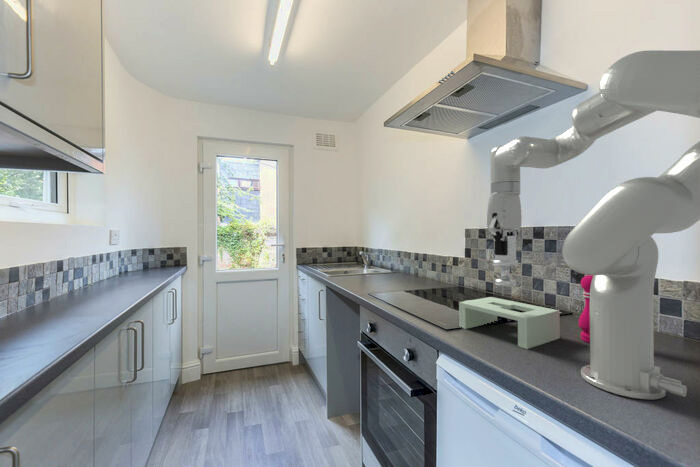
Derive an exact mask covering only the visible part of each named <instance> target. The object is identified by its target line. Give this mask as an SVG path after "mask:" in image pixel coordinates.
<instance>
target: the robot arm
mask: <svg viewBox="0 0 700 467" xmlns="http://www.w3.org/2000/svg"><path fill="white" fill-rule="evenodd" d="M598 90H599V91H598V92H597V93H596V94H594V95H592V96H591V97H589V98H587V99H586V100H584V101H581V102H579V103H578V104H577V105H576V106H575V107H574V109H573V110H572V114H571V119H572V121H571V122H572V127H570V128H568V129H566V131H564V132H562V133H560V134H558V135H556V136H554V137H552V138H549V139H548V138H542V137H540V138H539V137H534V136H533V137H531V136H519V137H517V138H514V139H511V140H510V141H509V142H507V143H505V144H501V145H498V146H495V147H493V148H492V149H491V150H490V151H491V152H490V195H489V197H488V204H487V213H486V227H487V229H488V232H489V233H491V235H492V238H493V241H495V255H506V254H507V241H504V240H505V236H516V241H518V235H519V234H520V232H521V231H522V206H521V205H522V203H521V197H520V195H521V168H535V169H543V170H544V169H550V168H553V167H556V166H559V165H561V164H563V163H566V162H568V161H570V160H572V159H575V158H576V157H580V155H582V154H584V152H585V151H587V150H588V149H589V148H590V147H591V146H592V145H593V144H594V143H595V142H596V141H597V140H598V139H600V138H602V137H604V136H606V135H608V134H610V133H612V132H614V131H616V130H618V129H620V128H623V127H625V126H627V125H629V124H631V123H633V122H636V121H638V120H640V119H642V118H645V117H646V116H649V115H650V114H653V113H654V112H665V113H669V114H670V113H671V114H676V115H677V114H678V115H683V116H689V117H694V118H697V119H700V50H697V49H696V50H655V49H654V50H653V49H652V50H650V49H649V50H641V51H635V52H632V53H629V54H627V55H624V56H623V57H621V58H619V59H617V61H615V62H613V64H611V65H610V67H608V68H607V69H606V70H605V72H604V73H603V75H602V78H601V79H600V83H599V86H598ZM699 221H700V140H699V141H697V143H695V144H694V145H692V146H691V147H690V148H689V149H687V150H686V151H685V152H684V153H683V154H682V155H681V156H680V157H679V158H678V159H677V160H676V161H674V163H673V164H671V165H670V167H669V168H667V170H665V171H663V172H662V173H661V174H660V175H659V176H657V177H655V176H654V177H653V176H643V177H642V176H641V177H635V178H632V179H628V180H626V181H624V182H622V183H619V184H617V185H616V186H614V187H613V188H612V189H611V190H610V191H609V190H608V192H607V193H606V194H604V196H602V198H600V200H599V201H598V202H597V203H596V204H595V205H594V206H593V207H592V208H591V209H590V210H589V211H588V212H587V214H585V215H584V217H583V218H582V219H581V220H580V221H579V222H578V223H577V224H576V225H575V226H574V227H573V228H572V229H571V230H570V231H569V233H568V234H567V235H566V238H565V239H564V241H563V244H562V251H561V252H562V257H563V258H562V259H563V260H564V262H565V264H566V265H567V266H568V267H569V268H570V269H572V270H573V271H575V272H576V273H580V274H582V275H585V276H587V275H593V278H592V282H591V287H590V343H589V364H587V365H584V366H582V367H581V369H580V375H581V378H583V379H584V380H585V381H586V382H587V383H589V384H591V385H592V386H594V387H596V388H599V389H601V390H604V391H606V392H609V393H612V394H615V395H618V396H619V395H620V396H623V397H627V398H632V399H639V400H650V401H651V400H660V399H663V398H664V397H666V395H667V393H666V392H669V393H670V394H673V395H676V396H680V397H683V398H686V397H687V393H688V388H687V387H688V386H686V385H684V384H682V381H681V380H678V379H675V378H672V377H671V378H670V377H666V376H664V374H662V373H661V367H660V366H656V365H654V364H655V360H654V359H655V358H654V355H655V352H654V350H655V349H654V347H655V346H654V289H655V288H654V287H655V279H656V275H657V274H656V273H657V270H658V263H659V249H658V245H657V243H656V241H655V239H654V238H653V237H652V236H653V235H654V234H672V233H679V232H682V231H685V230H687V229H689V228H690V227H692V226H694V225H695V224H697V223H698V222H699Z"/></svg>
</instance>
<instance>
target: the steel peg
mask: <svg viewBox="0 0 700 467" xmlns="http://www.w3.org/2000/svg"><path fill="white" fill-rule="evenodd" d="M493 241H494V240H493ZM504 241H507V254H506V255H495V241H494V242H493V243H494V244H493V245H494V253H493V254H494V258H493V259H492V266H494V267H497V268H498V267H500V278H495V280H494V285H495V286H498V287H508V288H510V287H511V288H512V287H516V286H517V280H516V279H512V278H510V277H511V275H510V270H511V268H517V267H519V260H517V240H516V236H505V240H504Z"/></svg>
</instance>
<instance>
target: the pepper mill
mask: <svg viewBox="0 0 700 467" xmlns="http://www.w3.org/2000/svg"><path fill="white" fill-rule="evenodd" d="M592 278H593V275H585V276H583V277H582V278H581V280H580V287H581V288H582V289H583V291H582V293H583V294H582V296H583V298H584V301H585V305H584V308H583V311H582V312H581V314H580V316H579V318H578V327H579V328H580V329H581V330H582V331H581V332H580V340H581V341H583V342H586V343H589V344H590V287H591V282H592Z"/></svg>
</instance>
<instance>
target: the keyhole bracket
mask: <svg viewBox="0 0 700 467" xmlns="http://www.w3.org/2000/svg"><path fill="white" fill-rule="evenodd" d="M469 300H470V301H467V300H464V301H459V302H458V319H459V320H458V323H459V324H458V325H459V326H460V327H459V326H458V327H459V328H461V327H462V328H461V329H464V330H467V329H472V328H476V327H480V326H484V324H485V325H488V324H487V323H489V324H491V322H493V323H495V322H494V321H497V322H498V317H501V318H504V319H508V320H513V321H515V322H516V321H517V346H518V347H519V348H523V349H525V350H528V349H532V348H534V347H538V346H541V345H544V344H546V343H547V344H548V343H549V342H553V341H557V340H559V339H561V334H560V332H561V330H560V321H561V320H560V319H561V318H560V309H554V308H548V307H543V306H540V305H539V306H538V305H533V304H528V303H523V302H519V301H514V300H509V299H503V298H498V297H494V296H487V297H482V298H477V299H476V298H475V299H469ZM516 310H517V311H516ZM520 311H522V312H520Z"/></svg>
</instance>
